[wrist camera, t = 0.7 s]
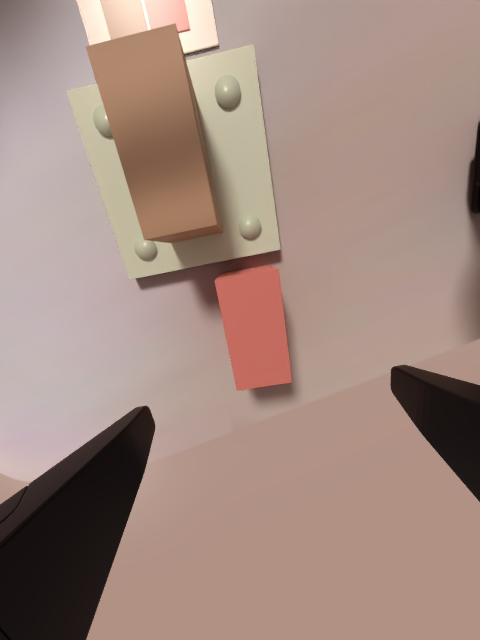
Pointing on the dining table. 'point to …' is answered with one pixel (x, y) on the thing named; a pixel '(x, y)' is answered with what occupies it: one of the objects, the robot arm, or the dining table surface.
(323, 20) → the dining table surface
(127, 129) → the brick walnut
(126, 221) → the plate
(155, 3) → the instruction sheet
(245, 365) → the brick red
